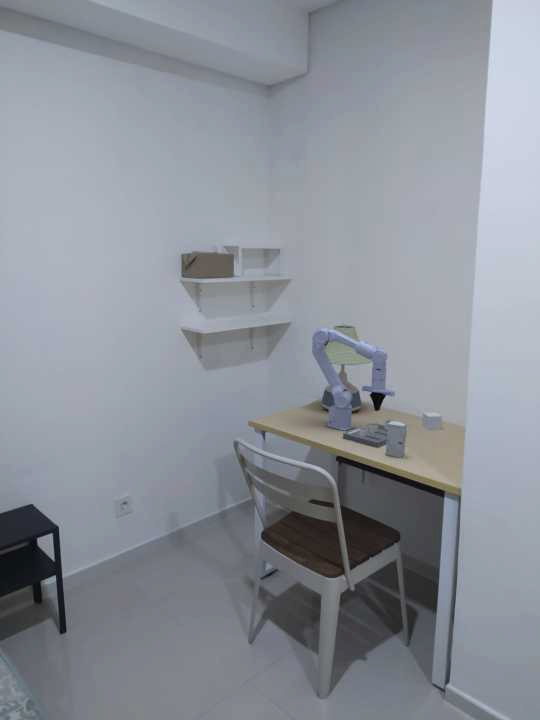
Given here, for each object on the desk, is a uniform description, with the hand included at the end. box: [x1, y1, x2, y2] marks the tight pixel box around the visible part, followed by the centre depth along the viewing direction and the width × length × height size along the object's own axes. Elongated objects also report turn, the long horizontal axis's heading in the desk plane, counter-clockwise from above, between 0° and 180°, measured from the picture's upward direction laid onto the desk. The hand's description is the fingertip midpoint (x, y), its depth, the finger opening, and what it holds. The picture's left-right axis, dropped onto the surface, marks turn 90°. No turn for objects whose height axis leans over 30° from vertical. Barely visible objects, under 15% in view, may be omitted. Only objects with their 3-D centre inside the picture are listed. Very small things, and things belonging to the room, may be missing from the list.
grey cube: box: [421, 412, 443, 431], centre depth 239 cm, size 6×6×6 cm
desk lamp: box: [313, 322, 373, 413], centre depth 263 cm, size 26×28×42 cm
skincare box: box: [385, 420, 408, 458], centre depth 203 cm, size 6×4×12 cm
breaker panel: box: [342, 422, 408, 449], centre depth 224 cm, size 16×22×5 cm
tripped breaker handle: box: [384, 419, 394, 430], centre depth 228 cm, size 2×3×3 cm, turn 137°
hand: (377, 410), depth 231 cm, fingers closed
